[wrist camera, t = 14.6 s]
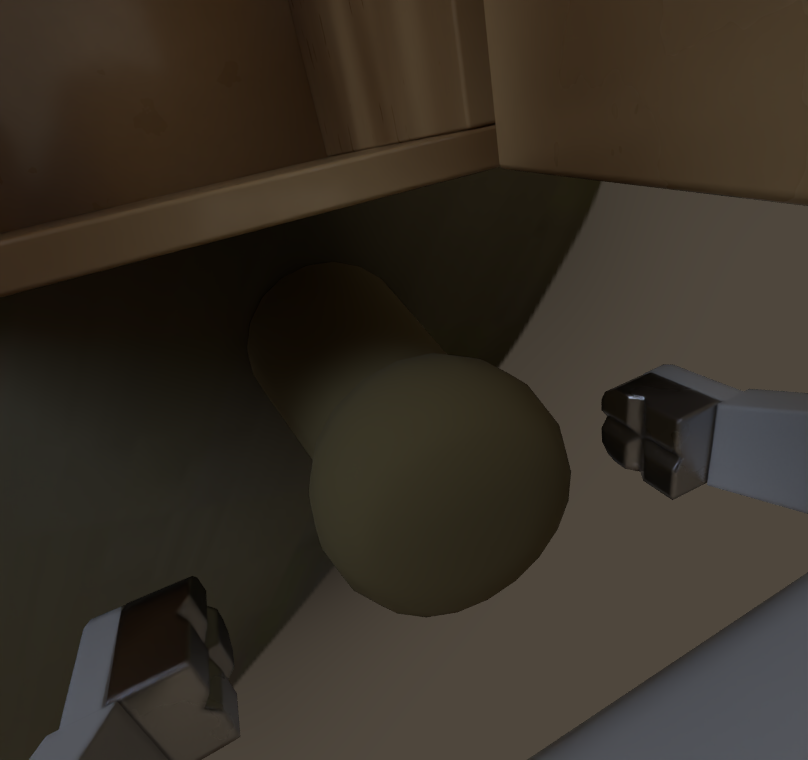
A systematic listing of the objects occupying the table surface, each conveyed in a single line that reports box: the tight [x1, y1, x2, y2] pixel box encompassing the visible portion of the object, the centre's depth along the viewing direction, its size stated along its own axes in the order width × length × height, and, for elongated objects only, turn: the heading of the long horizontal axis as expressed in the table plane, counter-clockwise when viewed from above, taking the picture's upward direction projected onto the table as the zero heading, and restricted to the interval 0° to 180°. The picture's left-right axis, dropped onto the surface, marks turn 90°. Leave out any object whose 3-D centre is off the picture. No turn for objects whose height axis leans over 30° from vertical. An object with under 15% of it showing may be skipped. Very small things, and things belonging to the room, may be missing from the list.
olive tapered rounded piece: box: [247, 262, 571, 617], centre depth 13 cm, size 6×6×11 cm
